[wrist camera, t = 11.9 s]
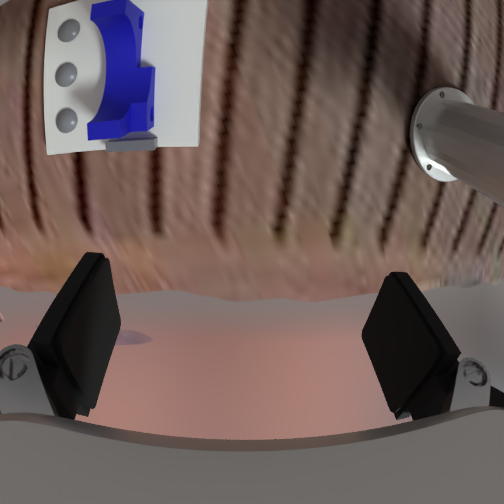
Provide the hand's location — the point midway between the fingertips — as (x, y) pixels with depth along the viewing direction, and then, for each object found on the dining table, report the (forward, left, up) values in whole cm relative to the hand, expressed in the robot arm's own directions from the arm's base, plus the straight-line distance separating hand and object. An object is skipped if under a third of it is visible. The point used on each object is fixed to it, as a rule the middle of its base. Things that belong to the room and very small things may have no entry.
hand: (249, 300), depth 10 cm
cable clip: (+10, -8, -22) cm, 26 cm away
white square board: (+12, -9, -24) cm, 28 cm away
